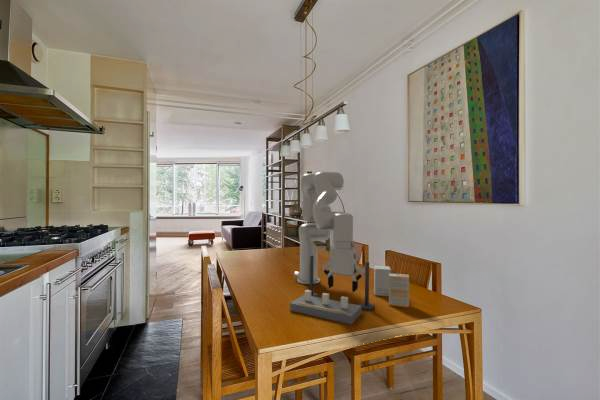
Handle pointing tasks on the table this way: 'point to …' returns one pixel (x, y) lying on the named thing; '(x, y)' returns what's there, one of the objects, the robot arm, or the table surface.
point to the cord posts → (365, 305)
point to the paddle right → (344, 302)
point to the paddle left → (307, 295)
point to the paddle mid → (325, 298)
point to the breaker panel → (326, 309)
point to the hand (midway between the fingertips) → (342, 288)
